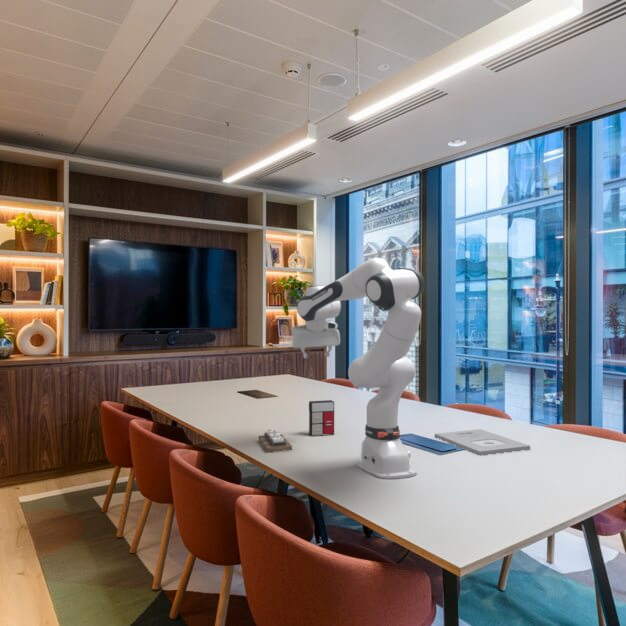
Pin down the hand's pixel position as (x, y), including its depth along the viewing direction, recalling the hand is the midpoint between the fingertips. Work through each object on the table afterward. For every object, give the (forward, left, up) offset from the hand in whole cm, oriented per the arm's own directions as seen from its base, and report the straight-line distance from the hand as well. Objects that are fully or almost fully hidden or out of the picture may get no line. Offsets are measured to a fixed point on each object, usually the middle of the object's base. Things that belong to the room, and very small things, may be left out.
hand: (316, 357), depth 207 cm
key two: (+7, +18, -33) cm, 38 cm away
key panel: (+1, +18, -36) cm, 40 cm away
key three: (-5, +18, -33) cm, 38 cm away
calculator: (+13, -6, -36) cm, 39 cm away
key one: (+1, +18, -33) cm, 38 cm away
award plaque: (-18, -66, -37) cm, 78 cm away
